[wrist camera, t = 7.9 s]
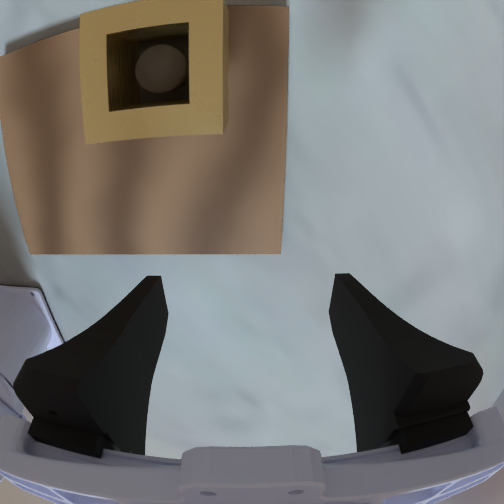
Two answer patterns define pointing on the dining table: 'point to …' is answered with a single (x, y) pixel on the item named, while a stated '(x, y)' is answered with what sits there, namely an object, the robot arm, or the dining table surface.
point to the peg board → (150, 151)
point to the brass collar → (124, 62)
